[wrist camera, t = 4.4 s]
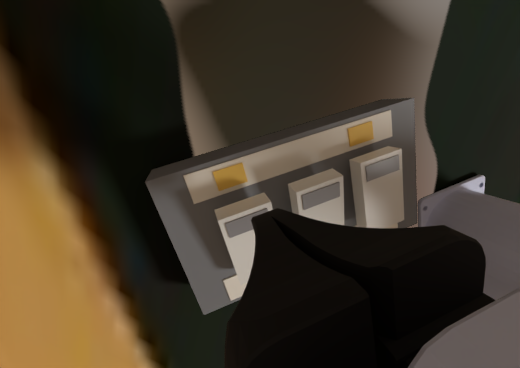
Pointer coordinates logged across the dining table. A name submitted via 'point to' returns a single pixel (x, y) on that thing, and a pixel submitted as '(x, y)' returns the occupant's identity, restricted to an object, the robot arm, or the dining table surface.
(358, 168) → the switch
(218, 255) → the switch unit
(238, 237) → the switch
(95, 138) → the dining table surface
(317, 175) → the switch
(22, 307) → the dining table surface
